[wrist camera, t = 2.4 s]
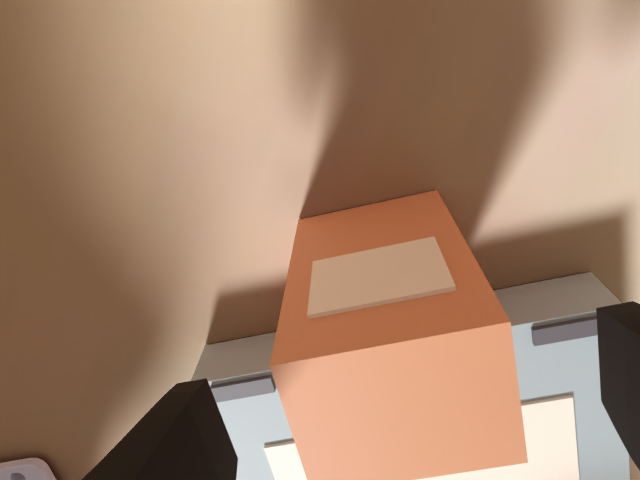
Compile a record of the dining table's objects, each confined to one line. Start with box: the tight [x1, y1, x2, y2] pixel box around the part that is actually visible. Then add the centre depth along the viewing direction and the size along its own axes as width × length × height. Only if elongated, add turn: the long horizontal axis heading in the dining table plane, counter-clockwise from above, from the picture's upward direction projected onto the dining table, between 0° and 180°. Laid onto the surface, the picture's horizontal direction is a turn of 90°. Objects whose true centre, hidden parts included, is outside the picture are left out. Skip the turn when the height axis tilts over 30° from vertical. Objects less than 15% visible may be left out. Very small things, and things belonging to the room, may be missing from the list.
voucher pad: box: [191, 272, 630, 480], centre depth 17 cm, size 12×8×2 cm, turn 104°
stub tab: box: [270, 190, 528, 480], centre depth 13 cm, size 4×3×7 cm
